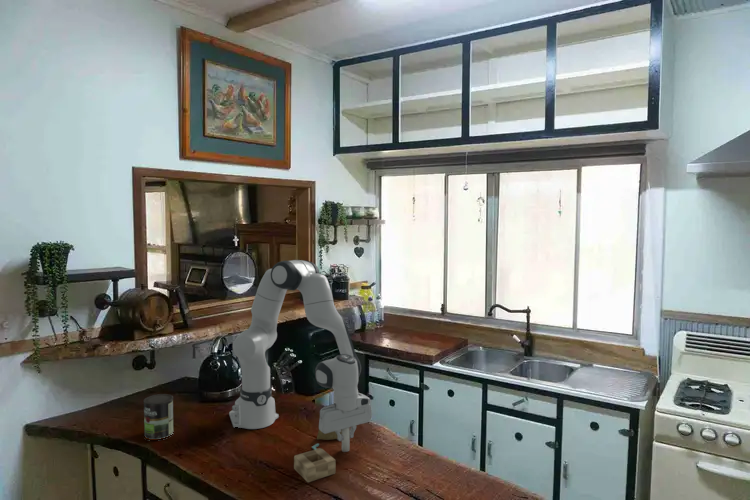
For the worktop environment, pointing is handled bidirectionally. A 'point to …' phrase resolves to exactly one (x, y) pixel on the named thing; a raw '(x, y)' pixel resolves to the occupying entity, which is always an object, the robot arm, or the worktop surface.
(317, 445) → the hex key
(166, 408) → the coffee can
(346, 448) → the long grey cylinder
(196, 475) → the worktop surface
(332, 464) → the wooden block with hole
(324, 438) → the rock
